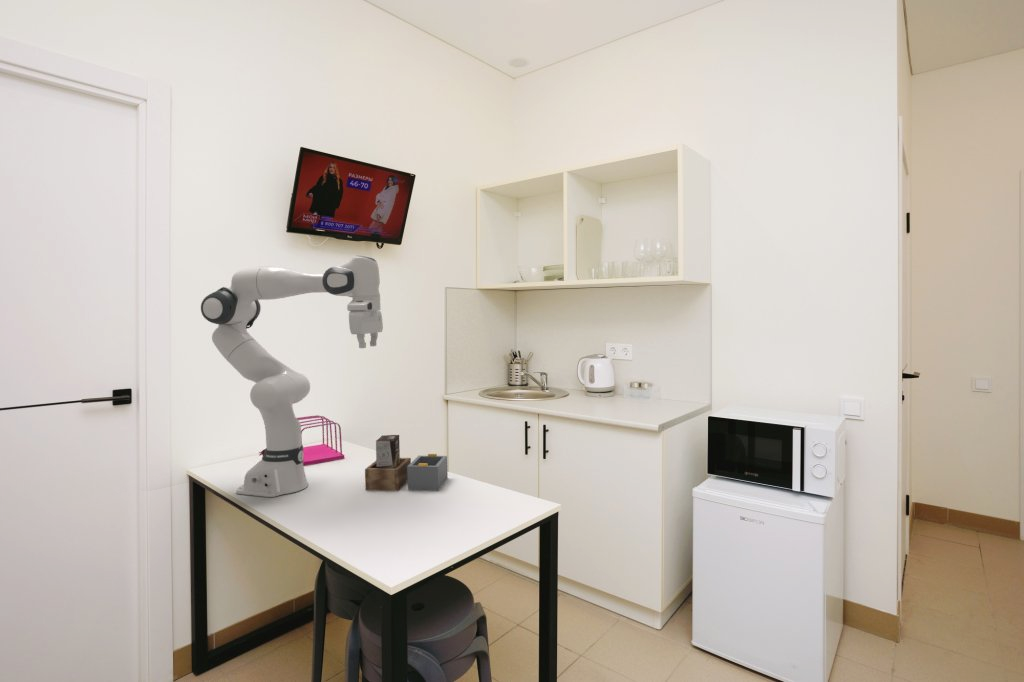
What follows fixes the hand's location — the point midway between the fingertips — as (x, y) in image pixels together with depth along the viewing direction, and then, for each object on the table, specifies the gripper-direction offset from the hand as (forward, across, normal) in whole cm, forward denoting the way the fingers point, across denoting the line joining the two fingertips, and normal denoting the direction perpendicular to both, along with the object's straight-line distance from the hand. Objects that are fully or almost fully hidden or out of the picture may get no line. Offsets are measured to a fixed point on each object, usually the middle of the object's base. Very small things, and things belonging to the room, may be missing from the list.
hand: (368, 347), depth 175 cm
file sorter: (+48, -40, -41) cm, 75 cm away
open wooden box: (+48, -7, +3) cm, 49 cm away
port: (+48, -7, +17) cm, 52 cm away
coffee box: (+48, -7, +3) cm, 49 cm away
